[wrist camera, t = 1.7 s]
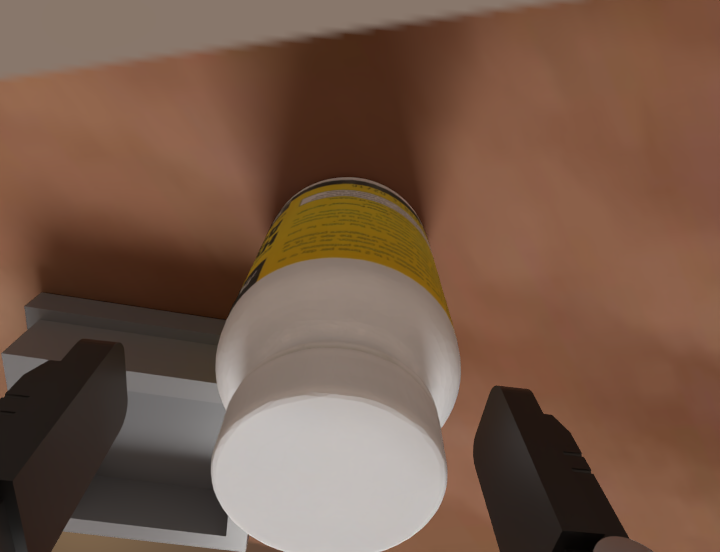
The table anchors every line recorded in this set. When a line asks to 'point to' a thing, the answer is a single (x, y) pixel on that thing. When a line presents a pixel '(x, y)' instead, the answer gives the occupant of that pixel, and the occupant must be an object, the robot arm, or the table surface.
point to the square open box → (144, 419)
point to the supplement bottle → (336, 377)
